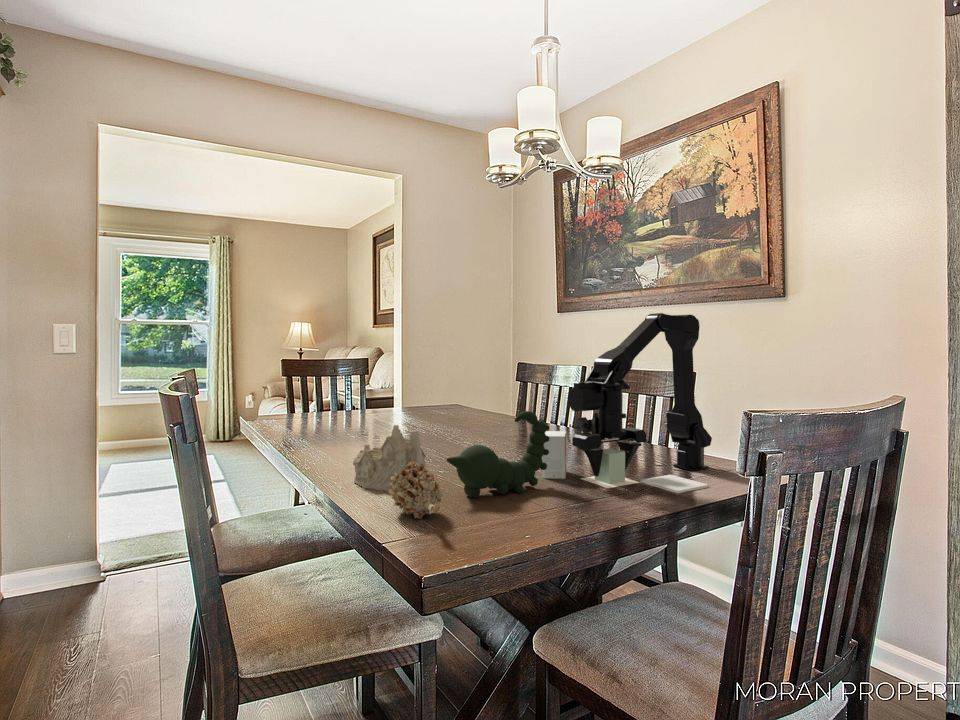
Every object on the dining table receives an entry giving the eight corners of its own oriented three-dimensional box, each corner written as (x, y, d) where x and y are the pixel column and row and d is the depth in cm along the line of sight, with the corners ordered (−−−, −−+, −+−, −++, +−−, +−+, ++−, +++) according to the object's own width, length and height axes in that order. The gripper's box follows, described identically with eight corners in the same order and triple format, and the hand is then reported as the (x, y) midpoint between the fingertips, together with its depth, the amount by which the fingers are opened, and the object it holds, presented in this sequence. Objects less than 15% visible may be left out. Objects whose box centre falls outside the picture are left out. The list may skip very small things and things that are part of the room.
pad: (670, 476, 138) (670, 474, 138) (708, 487, 129) (708, 484, 129) (640, 482, 133) (640, 479, 133) (677, 493, 124) (677, 490, 124)
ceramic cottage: (440, 479, 137) (435, 418, 137) (386, 497, 125) (380, 429, 124) (399, 473, 147) (394, 416, 147) (346, 489, 135) (340, 426, 135)
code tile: (611, 474, 142) (611, 473, 142) (640, 483, 133) (640, 482, 133) (579, 480, 137) (579, 478, 137) (608, 489, 128) (608, 488, 128)
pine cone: (380, 507, 115) (379, 459, 115) (424, 501, 120) (424, 454, 119) (418, 542, 96) (417, 484, 95) (469, 533, 100) (469, 477, 100)
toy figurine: (529, 488, 135) (434, 493, 123) (535, 409, 135) (440, 406, 123) (553, 498, 127) (453, 504, 115) (559, 414, 127) (460, 411, 115)
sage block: (610, 476, 139) (610, 448, 138) (625, 481, 134) (625, 451, 134) (594, 479, 136) (594, 450, 136) (609, 484, 132) (609, 454, 131)
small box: (565, 479, 136) (565, 436, 136) (542, 478, 137) (542, 435, 137) (567, 471, 144) (567, 430, 144) (545, 471, 145) (544, 430, 145)
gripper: (615, 402, 146) (615, 462, 147) (557, 408, 137) (557, 471, 138) (648, 407, 136) (647, 471, 137) (588, 413, 127) (588, 482, 128)
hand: (609, 473), depth 135 cm, fingers open, 8 cm apart
